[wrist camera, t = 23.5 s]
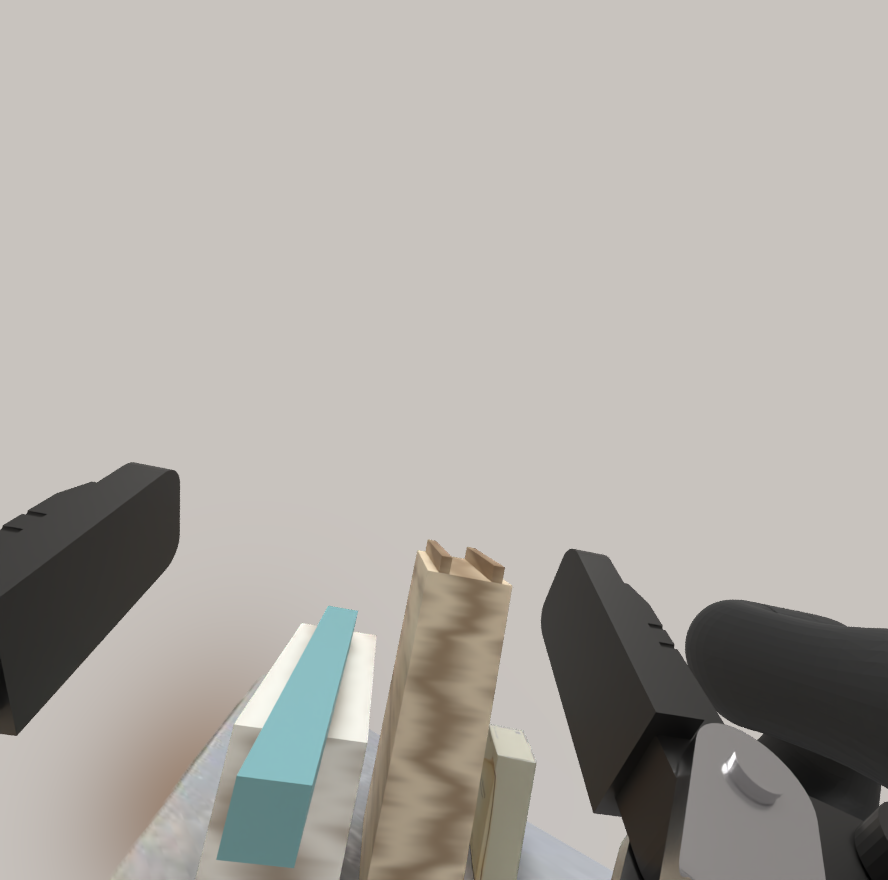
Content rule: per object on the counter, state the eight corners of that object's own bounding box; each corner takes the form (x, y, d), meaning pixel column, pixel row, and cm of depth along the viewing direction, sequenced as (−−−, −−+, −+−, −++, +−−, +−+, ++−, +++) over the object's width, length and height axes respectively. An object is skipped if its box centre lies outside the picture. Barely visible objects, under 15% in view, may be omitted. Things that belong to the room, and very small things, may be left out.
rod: (351, 641, 42) (358, 610, 43) (294, 868, 17) (312, 785, 17) (321, 636, 42) (328, 605, 42) (215, 859, 16) (236, 775, 17)
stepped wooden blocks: (432, 827, 49) (482, 549, 53) (478, 1168, 24) (562, 598, 29) (264, 806, 47) (331, 521, 51) (126, 1155, 22) (278, 546, 27)
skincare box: (468, 836, 48) (487, 722, 50) (506, 843, 48) (524, 729, 50) (474, 885, 42) (495, 753, 44) (518, 893, 42) (537, 761, 44)
